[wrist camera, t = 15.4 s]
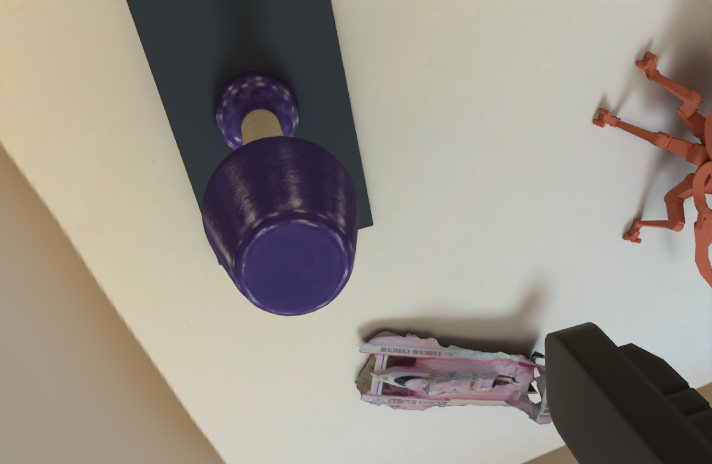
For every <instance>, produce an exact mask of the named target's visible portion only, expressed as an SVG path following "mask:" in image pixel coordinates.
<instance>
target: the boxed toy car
mask: <svg viewBox="0 0 712 464" xmlns="http://www.w3.org/2000/svg"><path fill="white" fill-rule="evenodd" d="M359 351H360V352H361V353H370V354H372V356H371V358H370V360H369V362H368V363H367V365H366V367H365V368H364V369H363V371H362V372H361V374H360V375H359V377H358V378H357V380H356V381H355V383H356V384H357V388H358V390H359V391H360V393H361V400H362V401H366V402H369V403H371V404H375V405H377V406H380V405H381V404H385V405H388V406H390V407H391V408H393V409H404V410H420V411H423V410H425V409H427V408H430V407H432V406H439V407H445V406H452V405H459V406H464V405H479V406H506V407H511V406H512V407H515V408H518V409H520V410H522V411H524V412H525V413H526V414H527V415H529V418H530V419H532V420H533V421H535V422H536V423H538V424H547V423H551V421H552V418H551V416H550V413H549V409H548V406H547V400H546V372H545V366H542V365H538V364H536V363H535V360H536V358H545V356H544V355H543V354H541V353H538V352H536V351H535V352H534V353H533V354H532V356H531V358H530V360H529V359H527V358H526V357H525V356H523V355H521V354H520V355H514V354H512V355H507V354H504V353H503V352H498V353H484V352H481V351H473V350H471V349H469V350H467V349H462V348H459V347H456V346H453V345H450V346H449V347H448V348H444V347H442V346H440V345H439V344H438V342H437V340H436V339H435V338H429V339H419V338H418V337H417V336H416V334H415V335H411V334H407V336H406V337H401V336H400V335H397V334H394V333H391V332H387V331H384V332H381V333H379V334H377V335H376V336H375V337H373V338H372V339H371V340H369V342H368V343H365V344H363V345H362V346H361V347H360V349H359ZM535 367H537V369H538V371H539V374H540V376H539V377H537V378H535V377H534V373H533V372H534V368H535ZM534 380H535V381H536V382H537V387H538V390H539V393H540V396H541V402H539V403H537V404H535V403H533V402H532V401H530V399H529V397H528V395H527V394H537V392H536V390H535V389H534V387H533V386H532V385H531V382H533V381H534Z"/></svg>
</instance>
